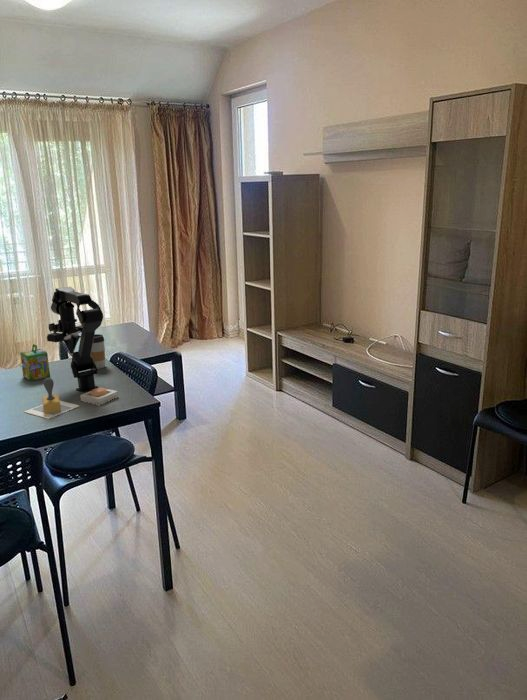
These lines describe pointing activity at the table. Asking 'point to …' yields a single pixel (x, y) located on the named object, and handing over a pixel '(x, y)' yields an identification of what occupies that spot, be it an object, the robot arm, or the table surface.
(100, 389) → the button
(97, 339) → the coffee cup
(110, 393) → the button housing
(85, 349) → the robot arm
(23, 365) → the chalk box
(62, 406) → the paper sheet
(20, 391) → the table surface
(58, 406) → the rubber stamp
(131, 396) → the table surface
